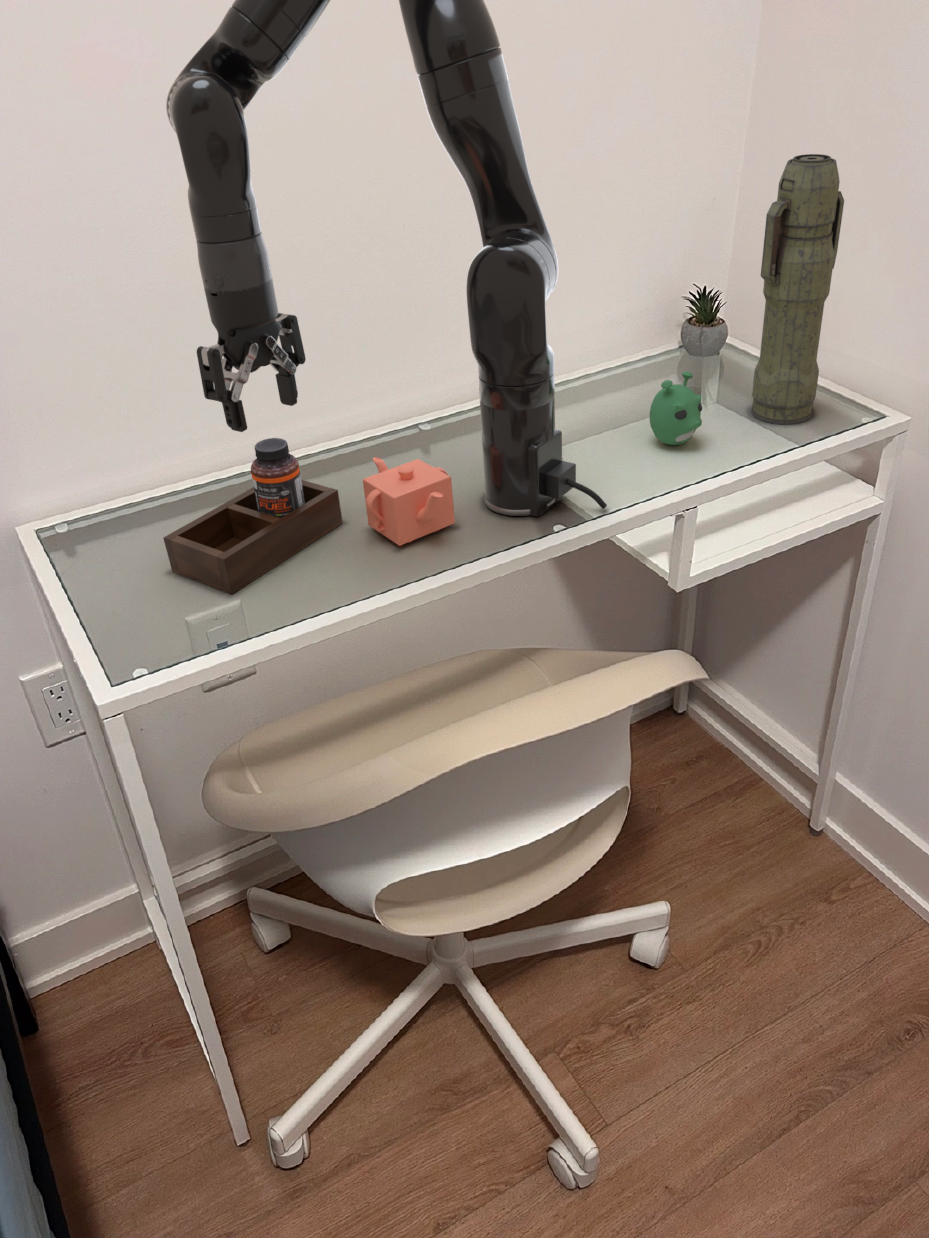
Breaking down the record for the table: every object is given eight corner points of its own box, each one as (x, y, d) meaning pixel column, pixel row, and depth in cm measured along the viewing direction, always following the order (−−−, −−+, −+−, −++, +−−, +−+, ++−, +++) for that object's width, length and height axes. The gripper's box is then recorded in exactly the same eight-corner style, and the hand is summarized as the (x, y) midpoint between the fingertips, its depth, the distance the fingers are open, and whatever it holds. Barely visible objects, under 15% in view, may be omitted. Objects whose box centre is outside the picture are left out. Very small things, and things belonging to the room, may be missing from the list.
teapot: (405, 567, 119) (398, 505, 114) (341, 523, 129) (332, 463, 125) (485, 534, 125) (481, 473, 120) (417, 493, 135) (411, 436, 130)
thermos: (730, 414, 150) (753, 161, 130) (786, 394, 155) (815, 147, 135) (776, 432, 144) (807, 169, 124) (832, 411, 149) (870, 154, 129)
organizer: (342, 523, 129) (337, 489, 127) (231, 595, 116) (223, 559, 114) (284, 505, 135) (278, 472, 132) (172, 572, 122) (162, 537, 119)
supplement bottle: (259, 539, 125) (242, 456, 119) (264, 517, 130) (248, 436, 124) (307, 535, 126) (292, 452, 119) (310, 513, 130) (296, 432, 124)
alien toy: (679, 459, 138) (683, 390, 133) (638, 443, 144) (640, 376, 138) (712, 444, 142) (718, 376, 136) (671, 429, 147) (675, 362, 141)
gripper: (258, 259, 117) (282, 392, 126) (165, 293, 108) (198, 433, 117) (306, 264, 113) (327, 401, 122) (213, 300, 104) (244, 445, 113)
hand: (264, 417), depth 120 cm, fingers open, 8 cm apart
